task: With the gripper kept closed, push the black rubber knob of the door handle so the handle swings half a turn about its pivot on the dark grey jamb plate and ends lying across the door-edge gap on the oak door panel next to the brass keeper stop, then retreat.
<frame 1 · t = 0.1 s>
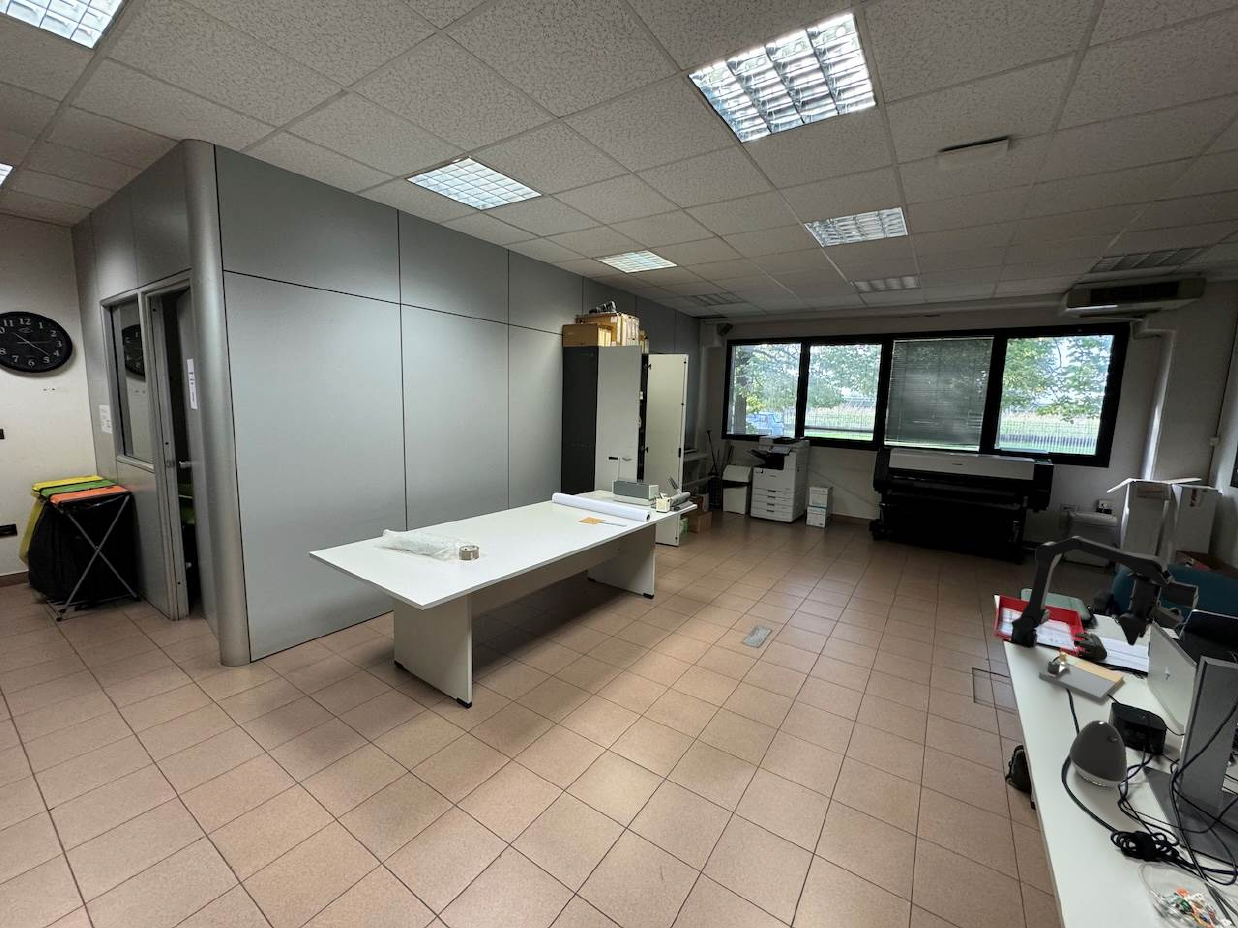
hand: (1135, 641, 158), 15 cm above the table, fingers open, 9 cm apart
end cap: (1088, 656, 176), on the table
egg shaped dome: (1094, 778, 122), on the table
door board: (1080, 678, 163), on the table
door handle: (1058, 665, 163), point 4 cm above the table, hinge at -90.0°
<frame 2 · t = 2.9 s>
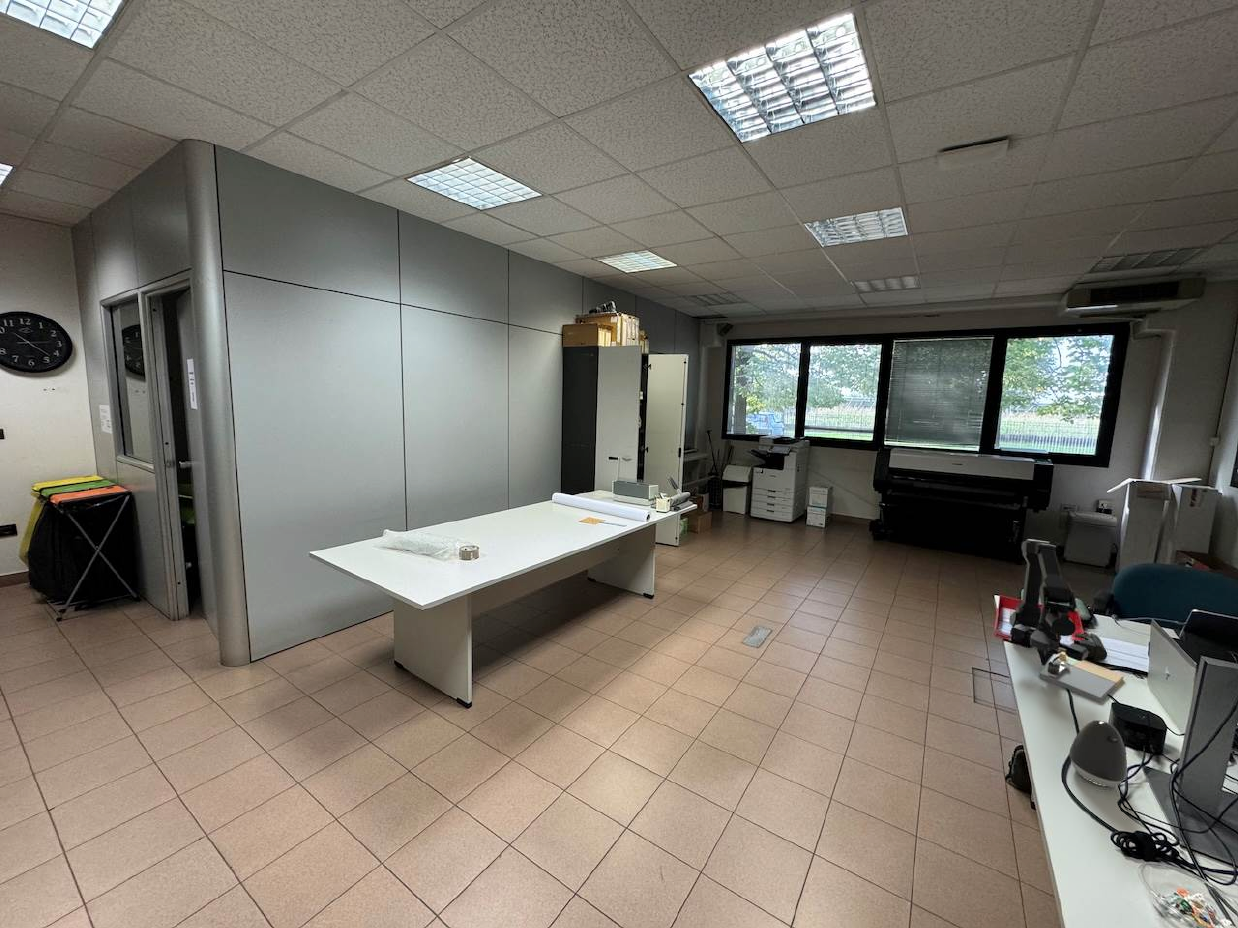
hand: (1043, 665, 163), 4 cm above the table, fingers closed
door handle: (1058, 665, 163), point 4 cm above the table, hinge at -89.8°, touching gripper
everything else where it was.
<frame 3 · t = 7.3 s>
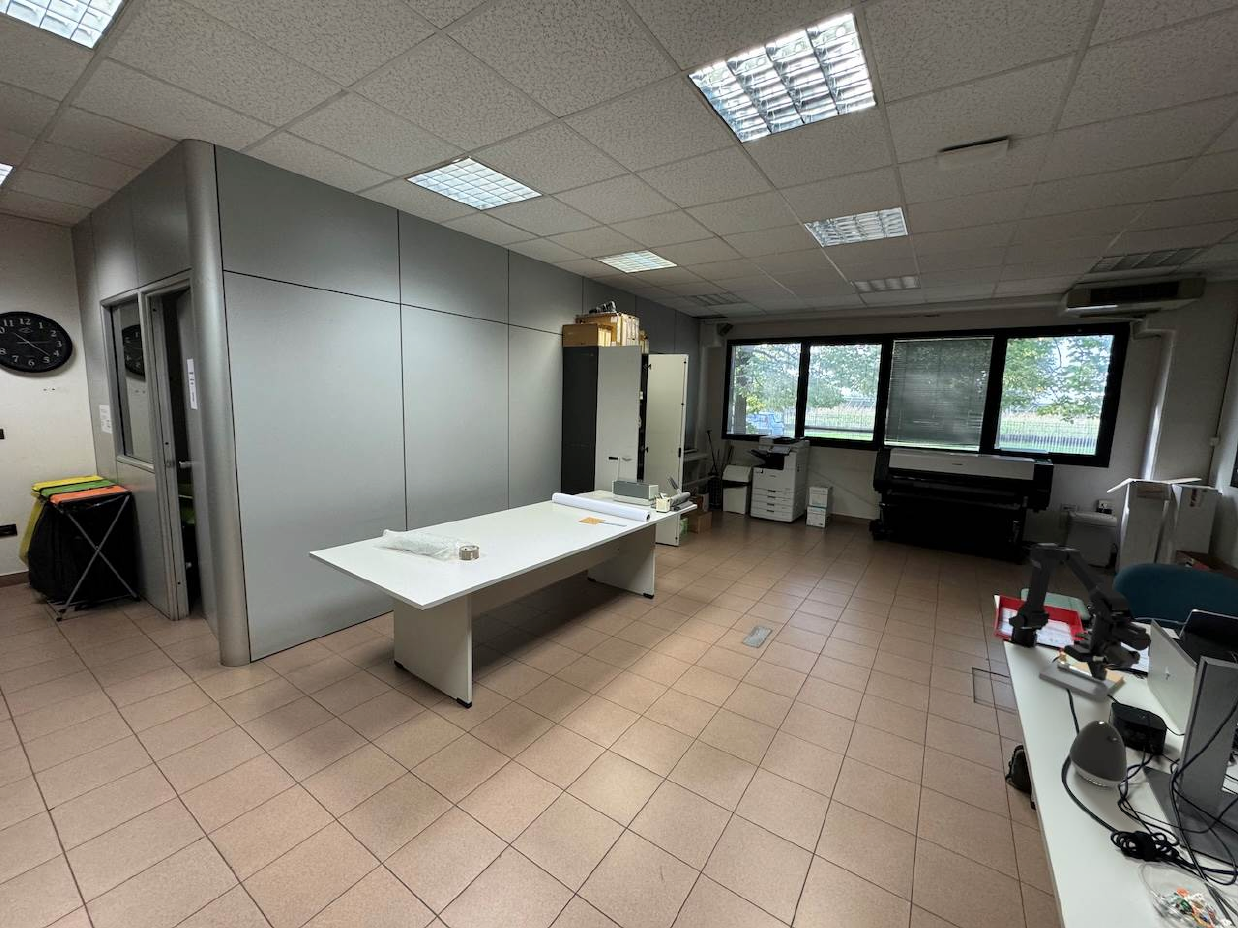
hand: (1094, 677, 157), 4 cm above the table, fingers closed
door handle: (1081, 668, 161), point 4 cm above the table, hinge at 0.3°, touching gripper
everything else where it was.
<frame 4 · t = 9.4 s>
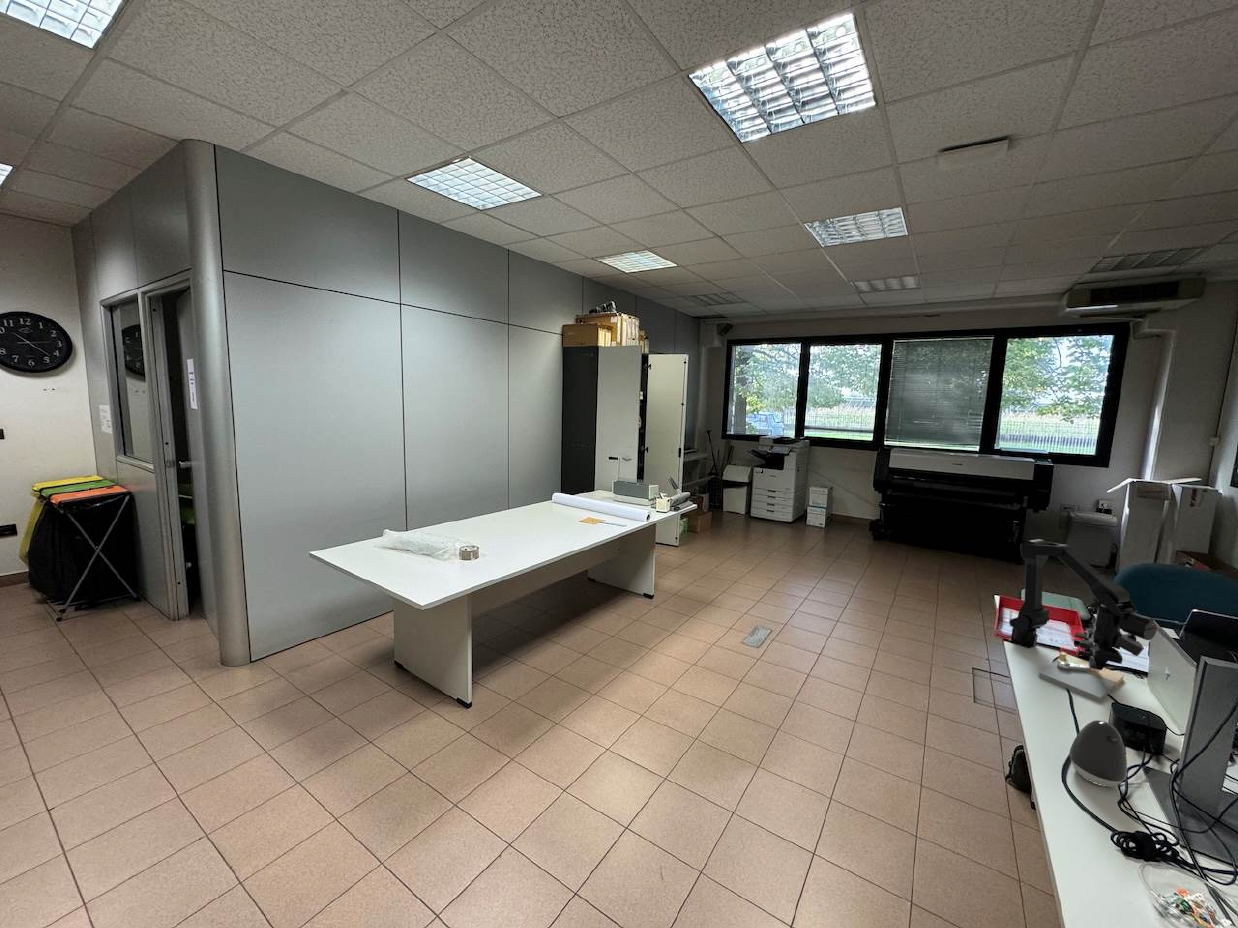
hand: (1099, 669, 161), 4 cm above the table, fingers closed
door handle: (1078, 662, 164), point 4 cm above the table, hinge at 49.2°, touching gripper
everything else where it was.
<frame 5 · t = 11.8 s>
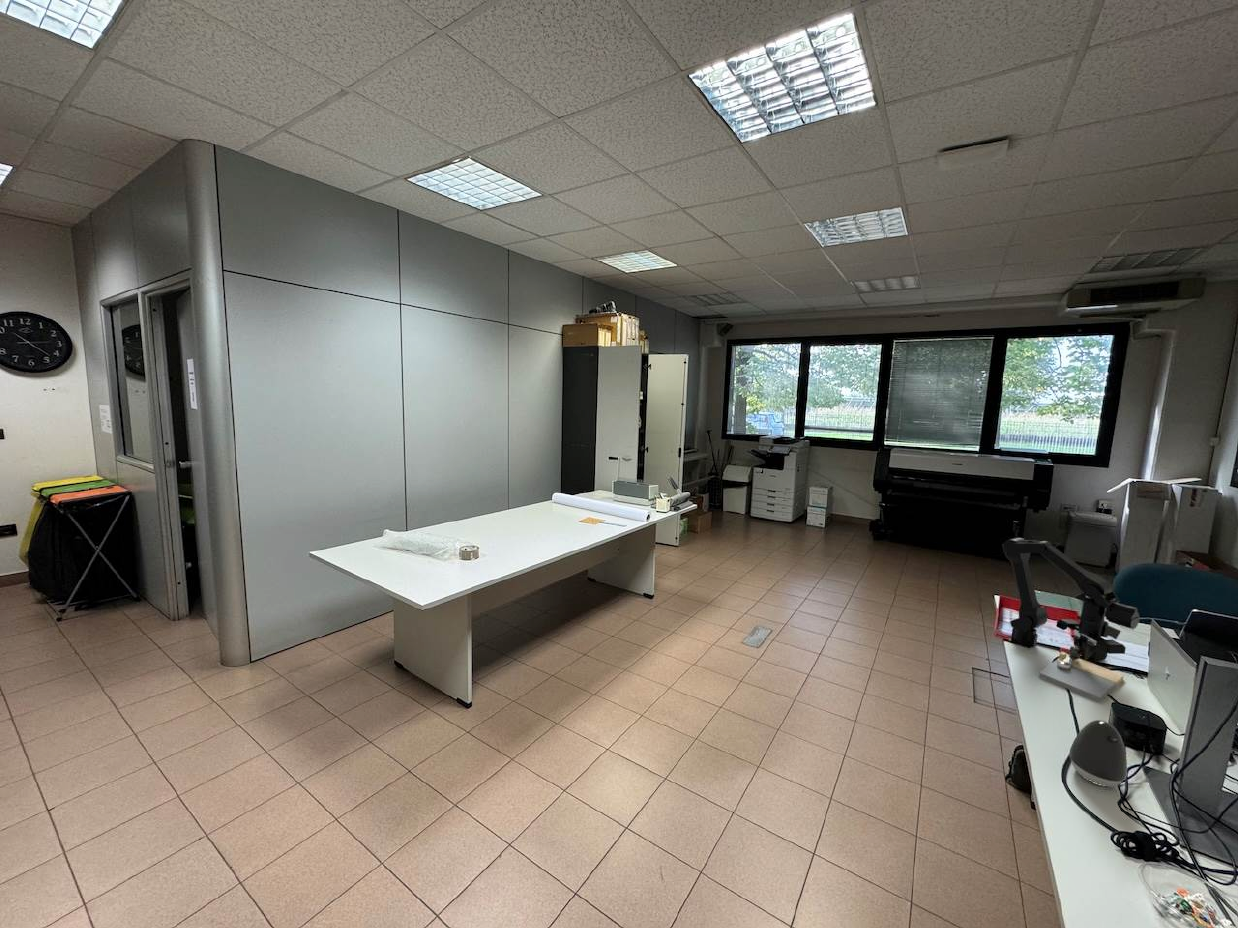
hand: (1085, 659, 167), 4 cm above the table, fingers closed
door handle: (1069, 657, 167), point 4 cm above the table, hinge at 88.8°, touching gripper
everything else where it was.
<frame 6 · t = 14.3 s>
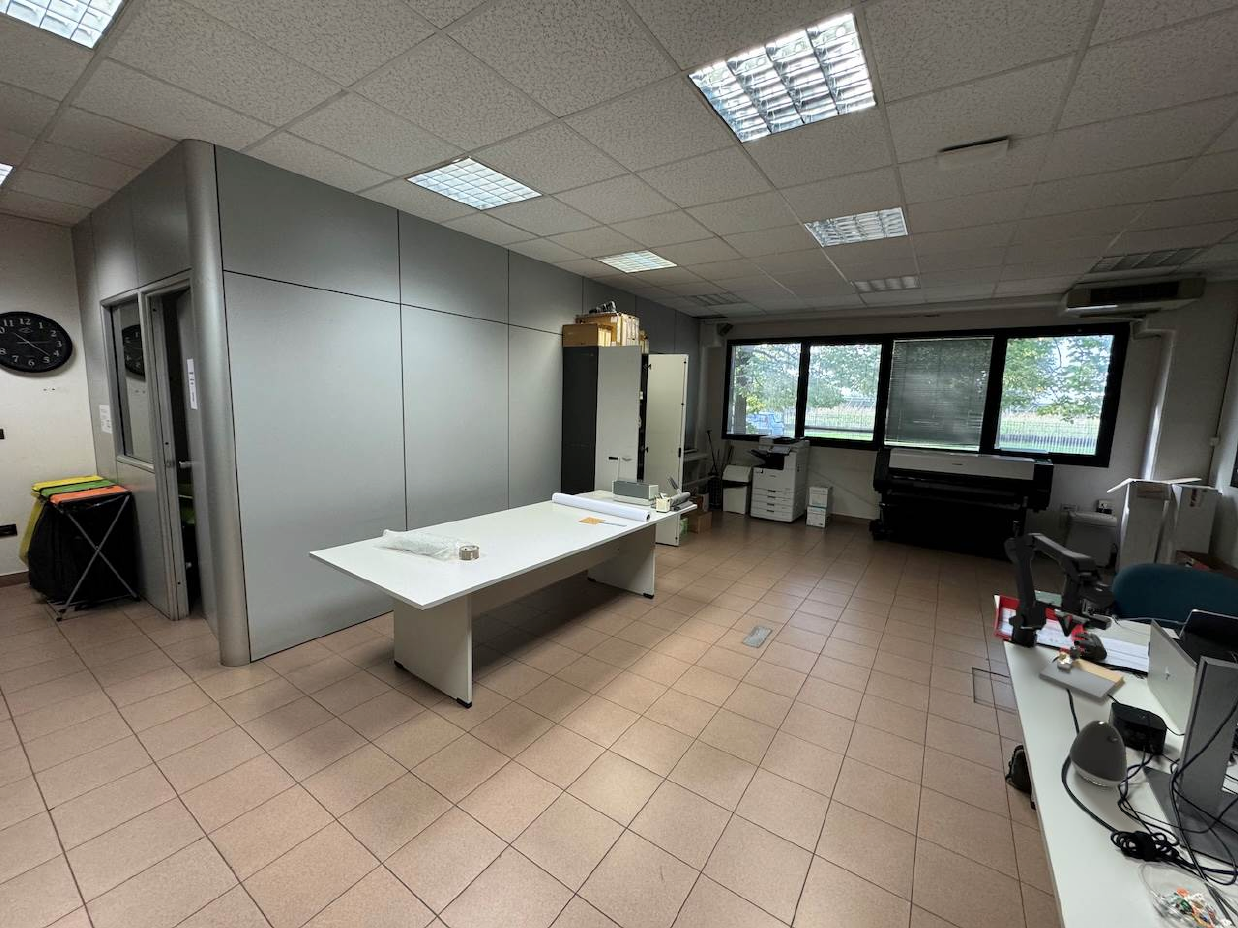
hand: (1066, 636, 166), 12 cm above the table, fingers closed
door handle: (1069, 657, 167), point 4 cm above the table, hinge at 88.8°
everything else where it was.
at the end: door handle at +89° (first picture: -90°); door handle touching nothing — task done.
